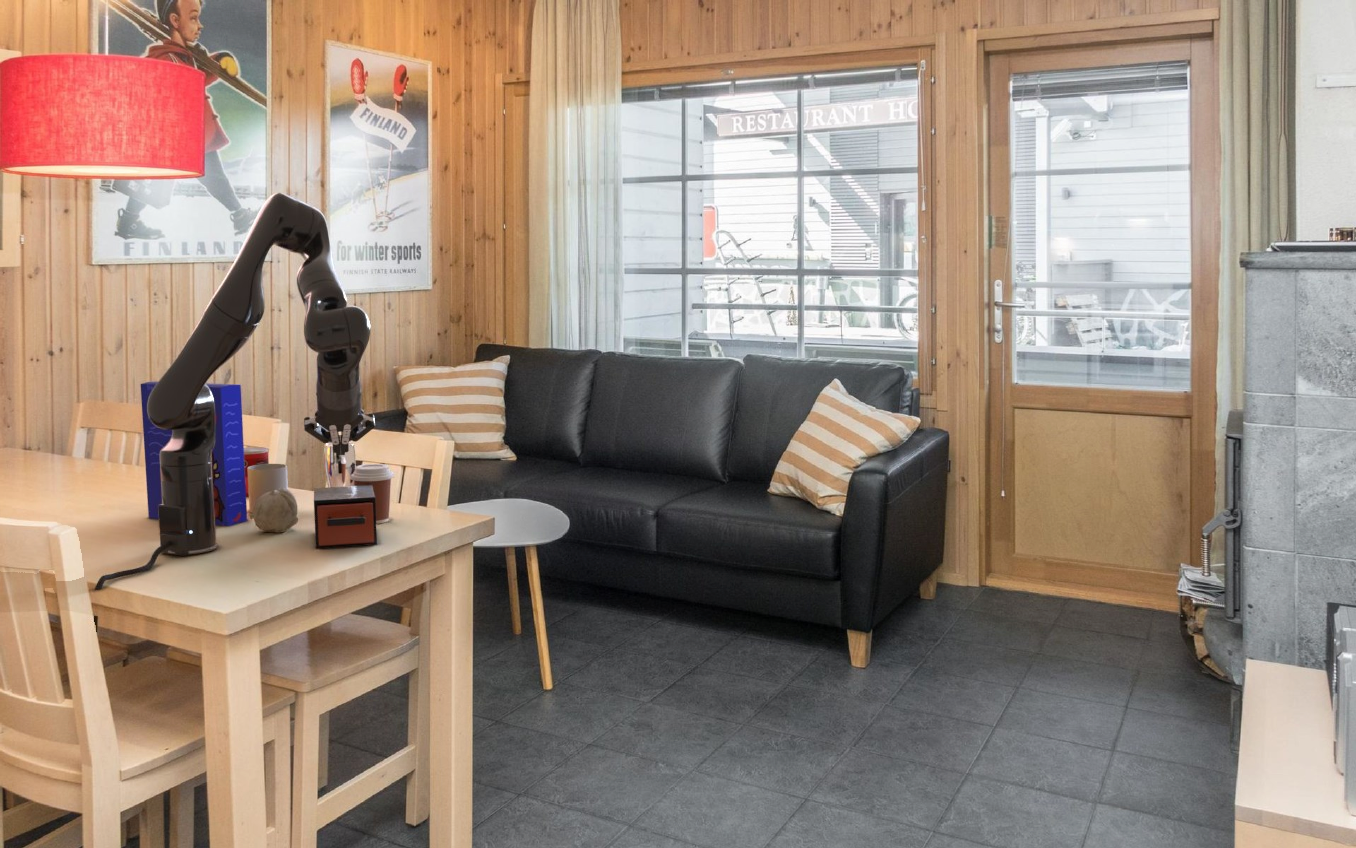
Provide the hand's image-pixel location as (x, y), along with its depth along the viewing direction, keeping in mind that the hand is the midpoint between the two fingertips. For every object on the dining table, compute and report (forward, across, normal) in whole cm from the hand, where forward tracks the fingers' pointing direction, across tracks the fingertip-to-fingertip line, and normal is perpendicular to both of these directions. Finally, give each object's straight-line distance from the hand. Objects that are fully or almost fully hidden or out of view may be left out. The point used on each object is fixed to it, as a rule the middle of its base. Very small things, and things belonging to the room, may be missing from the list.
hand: (340, 451), depth 212 cm
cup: (+50, +15, -21) cm, 56 cm away
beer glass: (+47, 0, -19) cm, 51 cm away
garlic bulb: (+33, +14, -5) cm, 36 cm away
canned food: (+65, +20, -37) cm, 77 cm away
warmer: (+25, 0, +3) cm, 26 cm away
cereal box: (+46, +30, -17) cm, 57 cm away
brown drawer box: (+21, 0, +6) cm, 22 cm away
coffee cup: (+37, -7, -8) cm, 38 cm away
